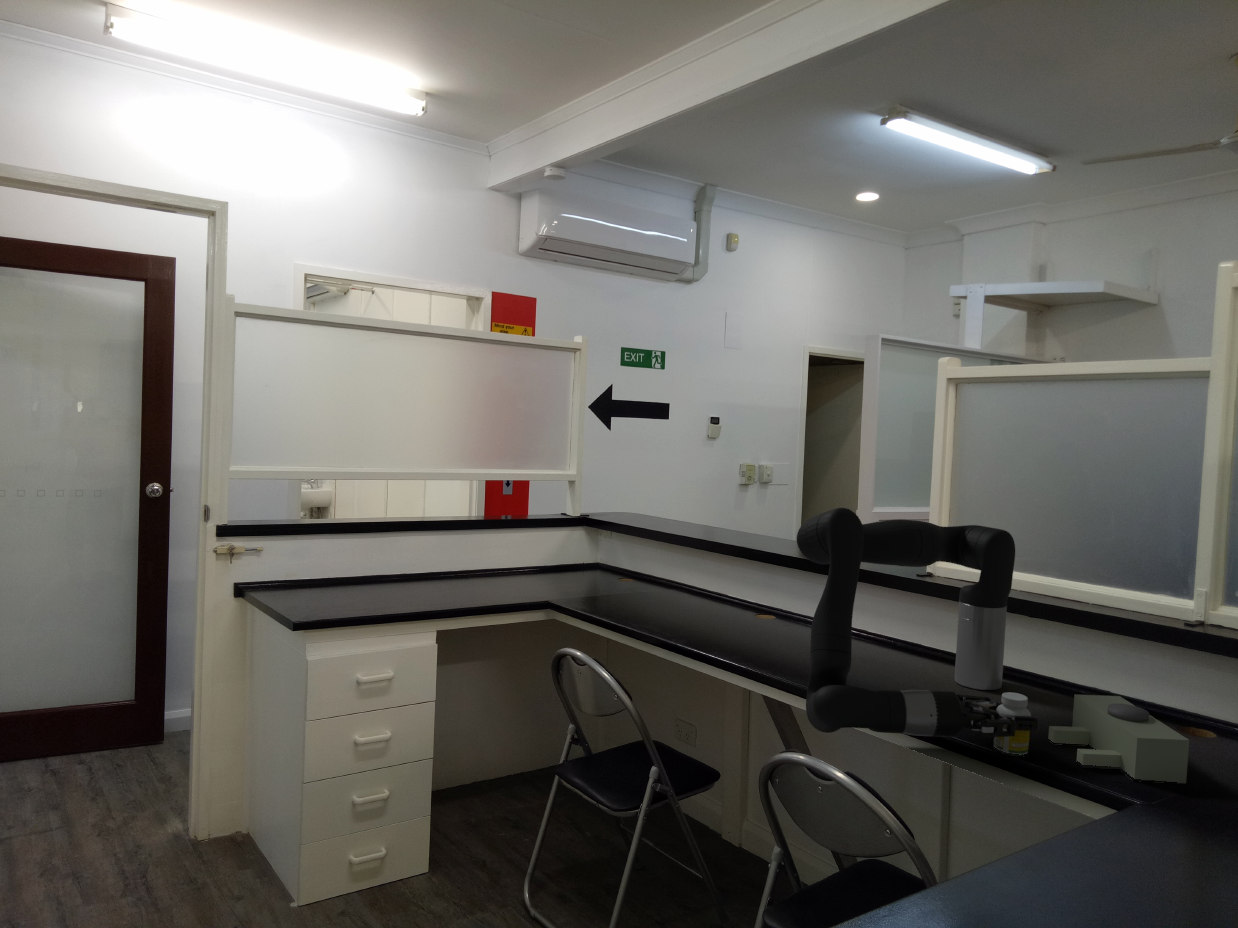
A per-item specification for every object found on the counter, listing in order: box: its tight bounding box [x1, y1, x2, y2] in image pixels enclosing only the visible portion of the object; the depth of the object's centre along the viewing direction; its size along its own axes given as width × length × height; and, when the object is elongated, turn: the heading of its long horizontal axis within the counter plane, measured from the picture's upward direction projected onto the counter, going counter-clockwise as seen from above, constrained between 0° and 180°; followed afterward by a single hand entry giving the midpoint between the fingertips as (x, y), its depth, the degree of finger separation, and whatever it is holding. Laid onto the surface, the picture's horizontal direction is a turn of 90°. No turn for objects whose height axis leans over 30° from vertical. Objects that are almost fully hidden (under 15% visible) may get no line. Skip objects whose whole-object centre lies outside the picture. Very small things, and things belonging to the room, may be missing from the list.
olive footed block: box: [1047, 694, 1190, 784], centre depth 145 cm, size 20×14×8 cm
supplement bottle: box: [993, 691, 1032, 755], centre depth 145 cm, size 5×5×10 cm
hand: (1028, 716), depth 145 cm, fingers closed on supplement bottle, 5 cm apart
